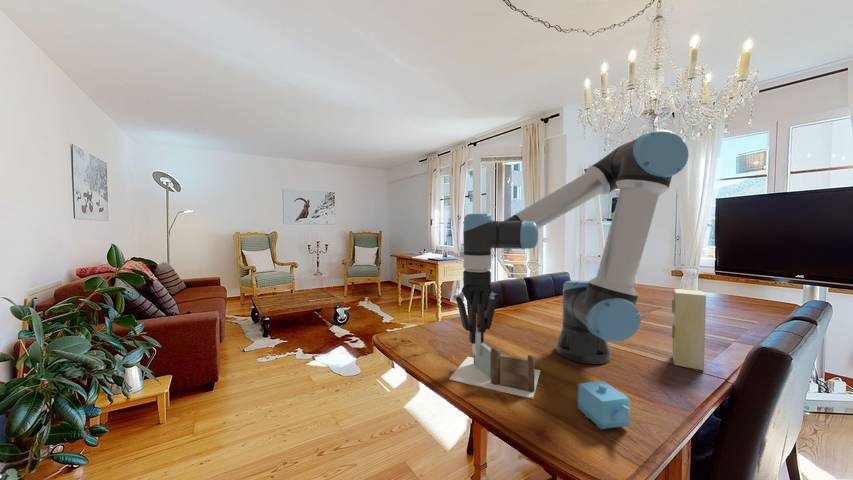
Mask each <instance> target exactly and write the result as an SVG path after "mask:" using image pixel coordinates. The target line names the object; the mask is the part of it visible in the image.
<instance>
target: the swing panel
mask: <svg viewBox="0 0 853 480" xmlns="http://www.w3.org/2000/svg"><path fill="white" fill-rule="evenodd" d="M473 358H474V364H476V365H477V366H478V367H479V368H480V369H481V370H482V371H483V372H484V373H485V374H486V375H487V376H488V377H490V378H491V347H490V346H488V345H487V344H486V343H484V342H483V343H481V356H475V355H474V354H473Z"/></svg>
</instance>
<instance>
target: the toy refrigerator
mask: <svg viewBox="0 0 853 480" xmlns="http://www.w3.org/2000/svg"><path fill="white" fill-rule="evenodd" d="M706 304H707V295H706V294H705V293H704V291H702V290H696V289H695V290H694V289H684V288H674V289H673V298H672V299H671V313H673V314H672V315H673V317H672V318H673V319H672V320H673V321H672V323H673V324H672V325H671V339H672V360H673V361H672V362H673V364H674V366H678V367H683V368H687V369H693V370H700V371H705V352H706V351H705V345H706V308H707V305H706Z"/></svg>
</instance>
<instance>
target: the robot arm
mask: <svg viewBox="0 0 853 480" xmlns="http://www.w3.org/2000/svg"><path fill="white" fill-rule="evenodd" d="M688 161H689V148H688V146H687V143H686V142H685V141H684V139H683V138H682V137H681V136H680V135H679V134H677V133H675V132H673V131H670V130H666V129H658V130H654V131H651V132H646V133H643V134H642V135H639V137H637V138H635V139H633V140H631V141H628V142H626V143H624V144H621V145H619V146H618V147H617V148H615V149H613V150H612V151H611V152H609V153H608V154H607V155H605V156H604V157H603V158H601V159H600V160H598V161H597V162H596V163H594V164H592V165H591V166H589V167H588V168H587V169H586V172H585V173H583V174H582V175H580V176H578V177H577V178H575V179H572V181H569V182H568V183H566V184H565V185H562V186H561V187H560V188H558V189H556V190H554V191H552V192H550V193H549V194H547V195H546V196H544V197H542V198H540V199H539V200H537V201H535V202H534V203H532V204H530V205H528V206H527V207H525V208H524V209H522V210H520V211H518V212H517V213H515V214H514V215H512V216H510V217H508V218H507V219H505V220H501V221H500V220H499V221H498V220H493V218H492V215H491V214H490V213H467V214H466V215H465V216H464V217H463V230H462V231H463V232H462V234H463V240H462V241H463V244H462V245H463V254H462V255H463V263H462V264H463V267H462V268H463V269H465V270H464V271H463V273H462V275H463V277H462V281H463V283H462V284H463V286H462V288H461V292H460V293H458V294H457V295H456V294H455V295H454V296H453V299H454V301H455V302H456V304H457V307H458V312H459V316H460V317H459V318H460V319H461V325H462V327H463V329H464V330H465V331H466V332H469V342H470V343H471V345H472V346H471V347H472V349H471V351H472V354H473V356H474V355H475V356H481V343H484V340H485V339H484V337H485V336H484V335H485V333H486V330H490V329H491V327H492V322H493V318H494V314H495V309H496V306H497V302H498V301H499V299H500V295H499V294H497V293H495V292H494V291H493V289H492V287H491V283H492V272H491V271H490V270H491V269H492V249H508V250H509V249H511V250H512V249H513V250H515V249H516V250H517V249H518V250H519V249H522V250H525V249H529V250H530V249H534V248H536V246H537V244H538V241H539V229H541V228H543V227H544V226H546V225H548V224H549V223H551V222H553V221H555V220H557V219H558V218H560V217H562V216H564V215H565V214H567V213H569V212H571V211H573V210H574V209H576V208H577V207H580V206H581V205H583V204H585V203H587V202H588V201H590V200H591V199H593V198H595V197H597V196H599V195H600V194H601V195H607V194H609V193H610V192H611V193H612V191H614V190H616V189H619V194H618V197H617V201H616V204H615V209H614V212H613V216H612V220H611V223H610V226H609V231H608V234H607V237H606V242H605V245H604V248H603V252H602V256H601V258H600V259H601V260H600V261H599V262H600V263H599V266H598V271H597V274H596V277H594V278H591V279H590V280H566V281H565V282H564V283H563V289H562V327H561V331H560V334H559V335H558V338H557V341H556V345H555V346H556V349H555V350H556V352H557V354H558V355H559V356H561V358H564V359H567V360H569V361H572V362H577V363H580V364H588V365H601V364H608V362H610V361H611V349H610V346H609V343H619V342H624V341H626V340H628V339H630V338H632V337H634V336H635V334H637V332H638V331H639V329H640V326H641V323H642V315H641V312H640V311H639V309H638V306H636V305H637V300H638V298H639V293H638V292H637V290H636V289H635V287H634V284H635V283H636V277H637V275H638V271H639V267H640V264H641V261H642V260H641V259H642V257H643V253H644V249H645V246H646V242H647V239H648V235H649V232H650V228H651V225H652V221H653V219H654V214H655V210H656V208H657V204H658V200H659V197H660V196H661V195H662V194H664V193H666V192H667V191H668V190H669V189H670V186H671V182H672V179H673V176H675V175H677V174H678V173H680V172H681V171H682V170H683V169H684V168H685V167H686V165H687V163H688ZM465 300H466V301H467V304H468V314H467V310H466V309H467V308H466V306H465V303H464V301H465ZM487 300H488V301H487ZM486 302H487V303H486ZM486 304H487V305H486ZM485 308H486V309H485ZM485 310H486V311H485Z"/></svg>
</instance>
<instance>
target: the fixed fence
mask: <svg viewBox="0 0 853 480" xmlns="http://www.w3.org/2000/svg"><path fill="white" fill-rule="evenodd" d="M490 348H491V347H490ZM535 360H536V356H535V355H533V354H528V355H527V358H525V357H521V356H515V355H508V354H502V351H501V348H499V347H492V348H491V383H492V384H494V385H498V384H501V385H505V386H510V387H515V388H519V389H524V390H528V391H531V392H534V382H535V367H536V366H535V365H536V364H535V363H536V361H535Z"/></svg>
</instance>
